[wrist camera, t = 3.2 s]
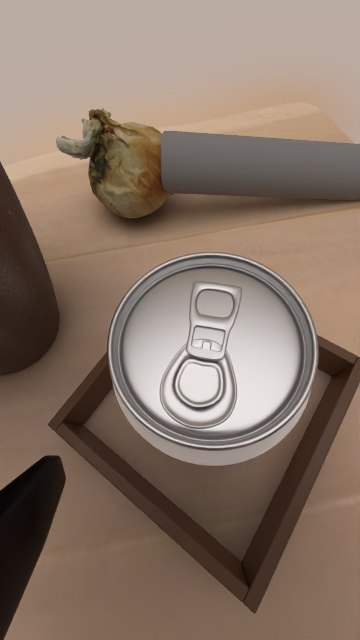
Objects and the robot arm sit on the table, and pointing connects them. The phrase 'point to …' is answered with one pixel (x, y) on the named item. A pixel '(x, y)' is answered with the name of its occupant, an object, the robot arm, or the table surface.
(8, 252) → the flower pot
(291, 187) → the tv remote
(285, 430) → the can
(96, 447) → the square frame
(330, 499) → the table surface
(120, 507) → the table surface
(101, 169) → the onion
